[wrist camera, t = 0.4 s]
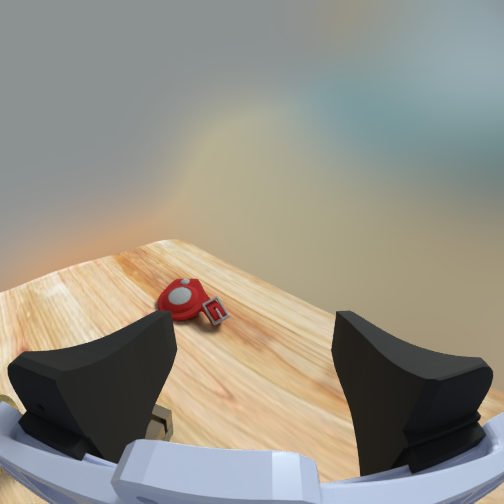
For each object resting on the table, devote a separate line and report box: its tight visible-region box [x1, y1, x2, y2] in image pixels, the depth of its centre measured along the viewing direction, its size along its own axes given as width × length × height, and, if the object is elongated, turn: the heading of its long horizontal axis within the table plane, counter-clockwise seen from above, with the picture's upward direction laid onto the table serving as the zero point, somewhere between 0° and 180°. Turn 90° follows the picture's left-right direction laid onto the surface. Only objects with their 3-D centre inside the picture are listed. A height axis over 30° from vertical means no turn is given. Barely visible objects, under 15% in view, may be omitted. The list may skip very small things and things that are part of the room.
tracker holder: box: [158, 279, 230, 325], centre depth 44 cm, size 12×4×10 cm
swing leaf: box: [145, 404, 172, 441], centre depth 20 cm, size 13×7×5 cm, turn 77°
